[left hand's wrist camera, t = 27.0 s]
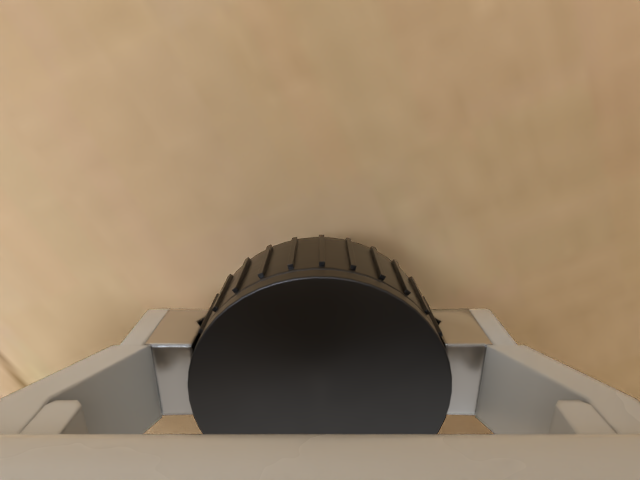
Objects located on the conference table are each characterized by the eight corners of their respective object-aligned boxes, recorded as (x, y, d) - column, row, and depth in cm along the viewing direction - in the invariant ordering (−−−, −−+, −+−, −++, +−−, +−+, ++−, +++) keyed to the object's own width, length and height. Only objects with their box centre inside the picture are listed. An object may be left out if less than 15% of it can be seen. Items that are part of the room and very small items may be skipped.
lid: (377, 443, 11) (390, 518, 9) (187, 389, 11) (156, 457, 9) (468, 277, 10) (506, 327, 8) (246, 200, 9) (225, 232, 7)
